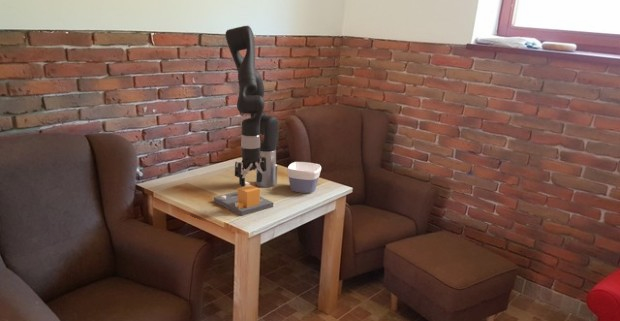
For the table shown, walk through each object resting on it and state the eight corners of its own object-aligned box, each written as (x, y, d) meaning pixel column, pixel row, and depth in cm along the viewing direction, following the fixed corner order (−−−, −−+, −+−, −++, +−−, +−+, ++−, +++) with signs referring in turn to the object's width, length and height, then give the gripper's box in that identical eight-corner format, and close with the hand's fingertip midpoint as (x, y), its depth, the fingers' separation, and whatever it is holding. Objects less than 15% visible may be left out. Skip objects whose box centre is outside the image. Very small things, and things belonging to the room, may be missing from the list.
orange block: (250, 199, 193) (250, 184, 191) (259, 204, 189) (259, 188, 187) (237, 203, 189) (237, 188, 187) (247, 207, 184) (247, 192, 183)
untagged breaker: (246, 192, 202) (246, 180, 200) (251, 194, 199) (251, 182, 198) (240, 193, 200) (240, 182, 198) (245, 195, 197) (245, 184, 196)
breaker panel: (244, 193, 206) (244, 185, 205) (273, 206, 192) (273, 197, 191) (213, 201, 195) (213, 192, 194) (241, 215, 181) (241, 206, 180)
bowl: (322, 186, 221) (323, 163, 219) (315, 196, 207) (317, 172, 204) (292, 182, 225) (292, 160, 222) (283, 192, 210) (283, 169, 207)
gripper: (258, 141, 189) (258, 178, 194) (230, 146, 180) (231, 185, 184) (270, 144, 184) (270, 182, 189) (242, 150, 175) (242, 190, 179)
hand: (250, 184), depth 187 cm, fingers open, 8 cm apart
